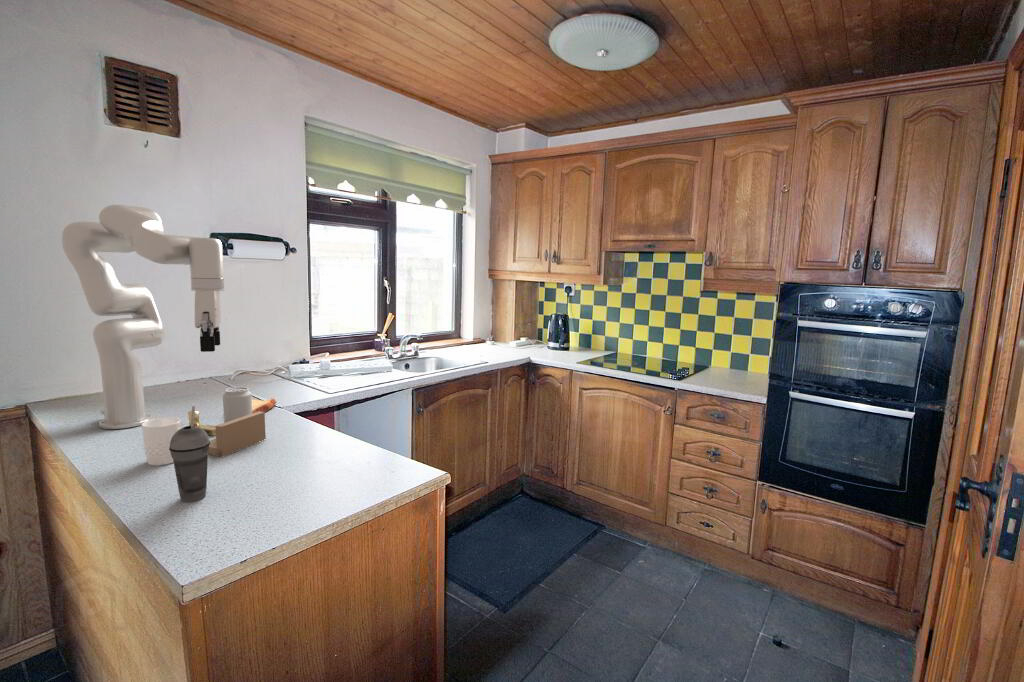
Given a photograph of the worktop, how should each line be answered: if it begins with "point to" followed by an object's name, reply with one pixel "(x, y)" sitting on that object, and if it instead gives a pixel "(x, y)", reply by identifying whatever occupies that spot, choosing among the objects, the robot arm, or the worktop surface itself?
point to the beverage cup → (190, 461)
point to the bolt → (208, 429)
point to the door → (236, 434)
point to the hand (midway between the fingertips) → (210, 348)
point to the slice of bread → (262, 405)
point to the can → (236, 403)
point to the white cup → (159, 439)
